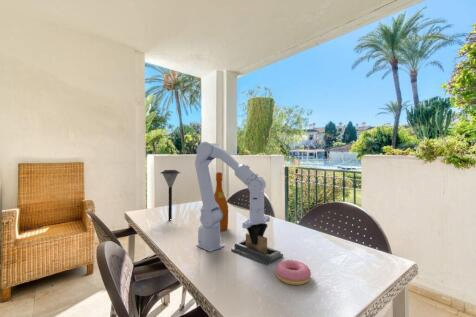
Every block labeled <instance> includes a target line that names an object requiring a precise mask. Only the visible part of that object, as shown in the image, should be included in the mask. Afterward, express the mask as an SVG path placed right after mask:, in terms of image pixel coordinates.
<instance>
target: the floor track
mask: <svg viewBox="0 0 476 317" xmlns="http://www.w3.org/2000/svg"><path fill="white" fill-rule="evenodd" d="M231 252H233V253H236V254H239V255H241V256H243V257H245V258H248V259H250V260H253V261H255V262H258V263H261V264H262V265H265V266H268V265H271V264H273V263H275V262H277V261H278V260H280V259H283V257H284V253H281V251H279V250H277V249H274V248H271V247H268V246H267V254H266V253H263V252H261V251H258V250H255V249H252V248H250V247H247V246H246V239H243V240H240V241H238V242H235V243H234V247H231Z"/></svg>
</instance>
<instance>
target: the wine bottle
mask: <svg viewBox="0 0 476 317" xmlns="http://www.w3.org/2000/svg"><path fill="white" fill-rule="evenodd" d="M215 181H216V187H215V190H214V191H215V192H214V197H215V201H216V202H217V203H218V205H219V208H220V210H221V211H222V214H223V217H222V219H221V221H220V232H224V231H226V230H227V229H228V227H229V205H228V200H227V198H226V197H225V192H224V191H223V184H222V183H223V173H222V172H220V171H218V172H216V173H215Z"/></svg>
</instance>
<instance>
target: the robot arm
mask: <svg viewBox="0 0 476 317" xmlns="http://www.w3.org/2000/svg"><path fill="white" fill-rule="evenodd" d="M195 151H196V156H195V162H194V166H195V167H194V168H195V171H196V176H197V182H198V186H199V191H200V196H201V203H202V205H201V208H200V216H199V217H200V218H199V222H200V226H199V227H198V231H197V243H196V246H197V247H199V248H201V249H204V250H206V251H208V252H212V251H215V250H218V249H221V248H224V247H225V245H224V244H222V243H221V231H220V221H221V219H222V217H223V214H222V211H221V210H220V208H219V205H218V203H217V202H216V201H215V197H214V194H215V192H214V187H213V182H212V178H211V173H210V168H209V167H210V166H209V165H210V164H211V162H212V161H213V160H214V159H219V160H221V161H222V162H223V163H225V165H227V166H229V168H231V169H232V170H233V171H234V176H236V178H237V179H239V180H240V181H241V182H242V183H243V184H244V185H245V186H247V189H248V191H249V219H247V220H245V221H244V222H242V226H241V227H242V228H243V229H246V230H247V233H249V235H250V238H251V242H252V244H255V245H257V240H258V235H260V236H263V237H264V235H265V232H266V230H267V228H268V224H267V222H268V223H269V222H270V221H271V216H268V215H265V191H264V190H265V188H266V187H267V186H266V184H267V183H266V181H265V179H264V177H262V176H259V174H257V173H255V172H254V171H253V170H251V168H250V166H249V165H245V164H240V163H239V162H238V161H237V160H236V159H235V158H234V157H233V156H232V155H230V153H229V152H227V150H226V149H224V147H222V146H220V145H219V143H217V142H209V141H202V142H200V143H199V144H198V146H197V147H196V149H195Z"/></svg>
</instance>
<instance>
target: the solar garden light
mask: <svg viewBox="0 0 476 317" xmlns="http://www.w3.org/2000/svg"><path fill="white" fill-rule="evenodd" d="M160 174H162V175H163V178H164V180H165V182H166V184H167V186H168V221H171V220H170V219H172V218H173V214H172V213H173V211H172V210H173V185H174V184H175V181H176V179H177V177H178V175H179V174H181V172H180V171H178V170H176V169H165V170H163V171H161V172H160Z"/></svg>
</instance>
